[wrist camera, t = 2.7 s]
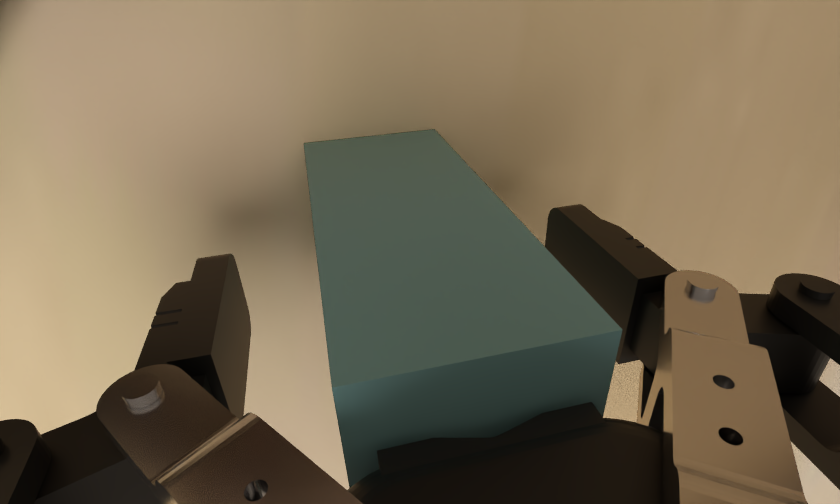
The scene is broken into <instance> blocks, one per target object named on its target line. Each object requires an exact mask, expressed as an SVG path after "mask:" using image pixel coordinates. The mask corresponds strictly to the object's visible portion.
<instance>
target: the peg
mask: <svg viewBox="0 0 840 504" xmlns="http://www.w3.org/2000/svg"><path fill="white" fill-rule="evenodd" d="M304 151H305V159H306V168H307V177H308V185H309V194H310V202H311V211H312V220H313V228H314V237H315V246H316V254H317V263H318V272H319V280H320V289H321V297H322V306H323V315H324V323H325V332H326V341H327V349H328V358H329V367H330V375H331V384H332V391H333V396H334V402H335V408H336V413H337V419H338V425H339V430H340V436H341V442H342V447H343V453H344V459H345V464H346V470H347V476H348V481H349V487H350V488H351V487H352V486H353V485H354V484H355V483H357V482H358V481H360V480H361V479H363V478H364V477H366V476H367V475H369V474H371V473H373V472H375V471H376V470H378V469H379V465H378V457H377V450H381V449H386V448H390V447H395V446H399V445H403V444H408V443H412V442H417V441H421V440H425V439H430V438H490V437H496V436H498V435H500V434H502V433H504V432H506V431H508V430H510V429H512V428H514V427H516V426H518V425H520V424H522V423H524V422H526V421H528V420H530V419H531V418H533V417H535V416H537V415H539V414H541V413H544V412H549V411H553V410H558V409H562V408H566V407H571V406H575V405H580V404H584V403H588V402H592V403H593V404H594V406H595V407H596V409H597V410H598V411H599V413H600V414H601V416H602V417H603V413H604V409H605V405H606V400H607V396H608V391H609V387H610V383H611V378H612V374H613V369H614V365H615V361H616V356H617V352H618V347H619V343H620V339H621V334H622V329H621V327H620V326H619V325H618V324H617V323H616V322H615V321H614V320H613V319H612V318H611V317H610V316H609V315H608V314H607V313H606V312H605V310H604V309H603V308H602V307H601V306H600V305H599V304H598V303H597V302H596V301H595V300H594V299H593V298H592V297H591V296H590V294H589V293H588V292H587V291H586V290H585V289H584V288H583V287H582V286H581V285H580V284H579V283H578V282H577V281H576V280H575V278H574V277H573V276H572V275H571V274H570V273H569V272H568V271H567V270H566V269H565V268H564V267H563V266H562V265H561V264H560V263H559V261H558V260H557V259H556V258H555V257H554V256H553V255H552V254H551V253H550V252H549V251H548V250H547V249H546V248H545V247H544V245H543V244H542V243H541V242H540V241H539V240H538V239H537V238H536V237H535V236H534V235H533V234H532V233H531V232H530V231H529V230H528V228H527V227H526V226H525V225H524V224H523V223H522V222H521V221H520V220H519V219H518V218H517V217H516V216H515V215H514V214H513V212H512V211H511V210H510V209H509V208H508V207H507V206H506V205H505V204H504V203H503V202H502V201H501V200H500V199H499V198H498V197H497V195H496V194H495V193H494V192H493V191H492V190H491V189H490V188H489V187H488V186H487V185H486V184H485V183H484V182H483V181H482V179H481V178H480V177H479V176H478V175H477V174H476V173H475V172H474V171H473V170H472V169H471V168H470V167H469V166H468V165H467V163H466V162H465V161H464V160H463V159H462V158H461V157H460V156H459V155H458V154H457V153H456V152H455V151H454V150H453V149H452V148H451V146H450V145H449V144H448V143H447V142H446V141H445V140H444V139H443V138H442V137H441V136H440V135H439V134H438V133H437V132H436V130H435V129H432V130H423V131H414V132H404V133H395V134H386V135H376V136H367V137H357V138H348V139H339V140H329V141H320V142H310V143H304Z"/></svg>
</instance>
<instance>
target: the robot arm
mask: <svg viewBox="0 0 840 504" xmlns="http://www.w3.org/2000/svg"><path fill="white" fill-rule="evenodd" d="M545 248H546V249H547V250H548V251H549V252H550V253H551V254H552V255H553V256H554V257H555V258H556V259H557V260H558V261H559V263H560V264H561V265H562V266H563V267H564V268H565V269H566V270H567V271H568V272H569V273H570V274H571V275H572V276H573V277H574V278H575V280H576V281H577V282H578V283H579V284H580V285H581V286H582V287H583V288H584V289H585V290H586V291H587V292H588V293H589V294H590V296H591V297H592V298H593V299H594V300H595V301H596V302H597V303H598V304H599V305H600V306H601V307H602V308H603V309H604V310H605V312H606V313H607V314H608V315H609V316H610V317H611V318H612V319H613V320H614V321H615V322H616V323H617V324H618V325H619V326H620V327H621V329H622V334H621V339H620V343H619V347H618V352H617V356H616V362H617V363H618V364H621V363H626V362H631V361H635V360H641V362H642V363H643V365H642V369H641V373H640V380H639V395H638V411H637V423H636V422H631V421H626V420H620V419H611V418H603V417H602V416H601V414H600V413H599V411H598V410H597V409H596V407H595V406H594V404H593V403H592V402H588V403H584V404H580V405H575V406H571V407H566V408H562V409H558V410H553V411H549V412H544V413H541V414H539V415H537V416H535V417H533V418H531V419H530V420H528V421H526V422H524V423H522V424H520V425H518V426H516V427H514V428H512V429H510V430H508V431H506V432H504V433H502V434H500V435H498V436H496V437H490V438H430V439H425V440H421V441H417V442H412V443H408V444H403V445H399V446H395V447H390V448H386V449H381V450H377V457H378V465H379V469H378V470H376V471H375V472H373V473H371V474H369V475H367V476H366V477H364V478H363V479H361V480H360V481H358V482H357V483H355V484H354V485H353V486H352V487H351V488H349V489H348V490H346V489H345V488H344V487H343V486H341V485H340V484H339V483H338V482H337V481H335V480H334V479H333V478H332V477H331V476H329V475H328V474H327V473H326V472H325V471H323V470H322V469H321V468H320V467H319V466H317V465H316V464H315V463H314V462H313V461H311V460H310V459H309V458H308V457H307V456H305V455H304V454H303V453H302V452H301V451H299V450H298V449H297V448H296V447H295V446H293V445H292V444H291V443H290V442H289V441H287V440H286V439H285V438H284V437H283V436H281V435H280V434H279V433H278V432H277V431H275V430H274V429H273V428H272V427H271V426H269V425H268V424H267V423H266V422H265V421H263V420H262V419H261V418H260V417H258V416H257V415H255V414H253V413H247V414H246V415H244V416H243V414H244V403H245V392H246V381H247V370H248V359H249V348H250V337H251V324H250V315H249V310H248V306H247V302H246V298H245V295H244V291H243V287H242V283H241V280H240V276H239V272H238V269H237V265H236V261H235V259H234V256H233V255H232V254H225V255H218V256H211V257H205V258H198V259H197V261H196V264H195V268H194V271H193V274H192V278H191V281H186V282H180V283H176V284H175V285H174V286H173V287H172V288H171V289H170V290H169V291H168V292H167V293H166V294H165V295H164V296H163V297H162V298H161V300H160V303H159V306H158V308H157V311H156V316H154V319H153V322H152V324H151V329H150V330H149V332H148V335H147V338H146V341H145V343H144V346H143V349H142V351H141V354H140V357H139V359H138V362H137V365H136V367H135V370H134V371H132V372H130V373H128V374H127V375H125V376H123V377H121V378H120V379H118V380H117V381H116V382H114V383H113V384H112V385H111V386H110V387H109V388H108V389H107V390H106V391H105V392H104V393H103V394H102V396H101V398H100V399H99V401H98V404H97V409H96V412H94V413H92V414H90V415H88V416H86V417H83V418H81V419H79V420H76V421H74V422H71V423H69V424H66V425H64V426H61V427H59V428H56V429H54V430H51V431H49V432H46V433H44V434H42V435H40V433H39V432H38V430H37V429H36V427H35V426H34V424H32V423H31V422H29V421H26V420H21V419H10V420H4V421H0V504H808V503H807V501H806V499H805V496H804V493H803V489H802V485H801V481H800V477H799V473H798V469H797V465H796V461H795V457H794V453H793V449H792V445H791V442H792V443H793V444H794V445H795V446H796V447H797V448H798V449H799V450H800V451H801V452H802V453H803V454H804V455H805V456H806V457H807V458H808V459H809V460H810V461H811V462H812V463H813V464H814V465H815V466H816V467H817V468H818V469H819V470H820V471H821V472H822V473H823V474H824V475H825V476H826V477H827V478H828V479H829V480H830V481H831V482H832V483H833V484H834V485H835V486H836V487H837V488H838V489H839V490H840V397H839V396H838V395H836V394H835V393H834V392H833V391H832V390H830V389H829V388H828V387H827V386H825V385H824V384H823V383H822V382H821V381H819V378H820V376H821V375H822V373H823V371H824V369H825V367H826V365H827V363H828V361H829V359H830V358H831V359H833V360H834V361H835V362H836V363H838V364H839V365H840V285H839V284H836V283H834V282H832V281H829V280H827V279H824V278H820V277H817V276H812V275H807V274H797V273H792V274H784V275H781V276H779V277H777V278H776V280H775V282H774V284H773V287H772V289H771V292H770V294H740V293H738V291H737V290H736V288H735V287H734V286H733V285H731V284H730V283H729V282H727V281H726V280H724V279H722V278H720V277H718V276H715V275H712V274H709V273H705V272H700V271H693V270H682V271H677V270H676V269H675V268H673V267H672V266H671V265H669V264H668V263H667V262H665V261H664V260H663V259H661V258H660V257H659V256H658V255H656V254H655V253H654V252H652V251H651V250H650V249H648V248H647V247H646V248H645V247H644V245H643V244H642V243H641V242H639V241H638V240H637V239H634V238H633V236H632V235H630V234H629V233H628V232H626V231H625V230H624V229H622V228H621V227H619V226H617V225H614V224H612V223H610V222H607V221H605V220H602V219H600V218H599V217H597V216H596V215H595V214H594V213H592V212H591V211H590V210H589V209H587V208H586V207H585V206H583V205H581V204H578V205H571V206H564V207H557V208H553V209H552V210H551V211H550V213H549V216H548V224H547V233H546V242H545Z"/></svg>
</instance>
